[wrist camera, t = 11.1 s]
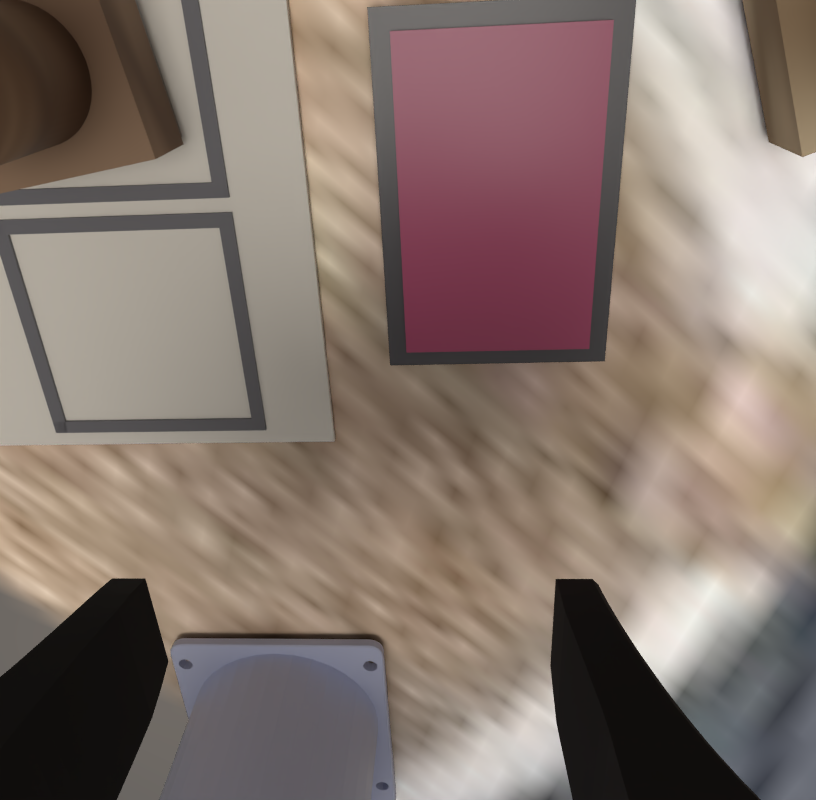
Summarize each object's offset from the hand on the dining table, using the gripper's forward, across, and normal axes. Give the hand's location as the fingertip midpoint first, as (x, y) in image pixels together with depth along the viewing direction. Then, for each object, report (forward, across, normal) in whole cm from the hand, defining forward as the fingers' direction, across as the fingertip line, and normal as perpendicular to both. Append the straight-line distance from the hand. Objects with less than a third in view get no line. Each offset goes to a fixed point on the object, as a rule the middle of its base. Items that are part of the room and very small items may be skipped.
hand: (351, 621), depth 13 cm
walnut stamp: (+10, +8, -8) cm, 15 cm away
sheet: (+10, +8, -5) cm, 14 cm away
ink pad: (+10, -3, -5) cm, 12 cm away
